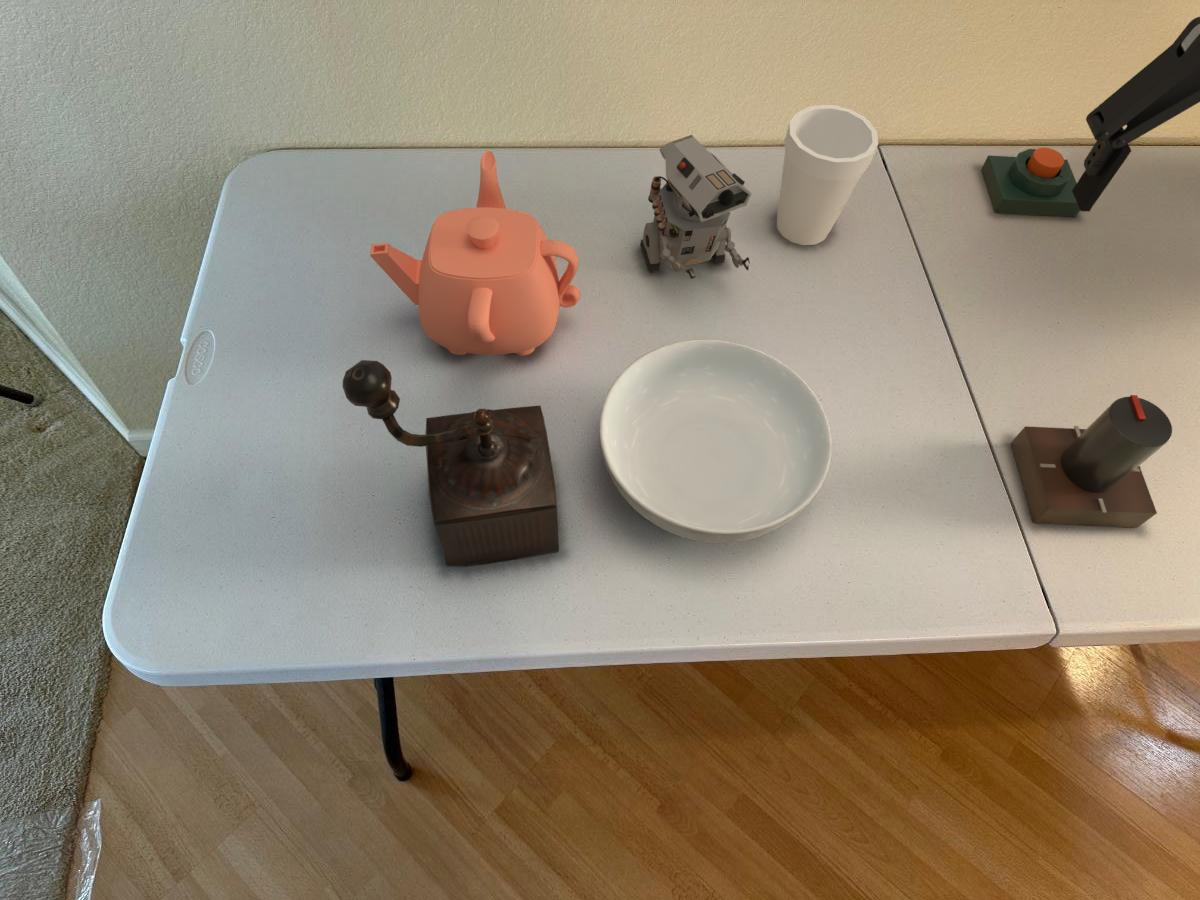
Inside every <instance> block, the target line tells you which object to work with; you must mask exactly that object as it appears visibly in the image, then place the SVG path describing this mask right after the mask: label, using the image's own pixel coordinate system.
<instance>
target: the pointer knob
mask: <svg viewBox="0 0 1200 900" xmlns="http://www.w3.org/2000/svg"><path fill="white" fill-rule="evenodd" d="M1085 429H1086V430H1085V431H1084V432H1083V433H1082V434H1081V435H1080V436H1079V437H1078V438H1077V439H1076V440H1075V441H1074V442H1073V443H1072V444H1071V445H1070V446H1069V447H1068V448H1067V449H1066V450H1065V451H1064V453H1063V455H1062V467H1063V469H1064V471H1065V473H1066V475H1067V476H1068V477H1069V478H1070V479H1071V480H1072V481H1073V482H1074V483H1075V484H1077V485H1078V486H1080V487H1082V488H1084V489H1086V490H1089V491H1093V492H1105V491H1108V490H1110V489H1112V488H1113V487H1115V486H1116V485H1117V484H1118V483H1119V482H1121V481H1122V480H1123V479H1124V478H1125V477H1127V476H1128V475H1129V474H1130V473H1131V472H1132V471H1134V470H1135V469H1136V468H1137V467H1138V466H1140V467H1141V465H1142V464H1143V463H1145V462H1146V461H1147V460H1148V459H1149V458H1151V457H1152V456H1153V455H1154V454H1155V453H1156V452H1158V451H1159V450H1160V449H1161V448H1162V447H1163V446H1165V445H1166V444H1168V443H1169V441H1170V440H1171V438H1172V436H1173V425H1172V422H1171V420H1170V419H1169V417H1168V415H1166V413H1165V411H1163V409H1161V408H1160V407H1159V406H1157V405H1156V404H1155V403H1154V402H1151V401H1149V400H1147V399H1144V398H1142V397H1139V396H1138V394H1130V395H1129V396H1123V397H1120V398H1117V399H1115V401H1113V402H1112V403H1111V404H1110V405H1109V406H1108V407H1107V408H1106V409H1105V410H1104V411H1103V412H1102V413H1101V414H1100V415H1099V416H1098V417H1097V418H1096V419H1095V420H1094V421H1093V422H1092V423H1091V424H1090V425H1089V426H1088V427H1087V428H1085Z"/></svg>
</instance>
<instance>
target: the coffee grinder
mask: <svg viewBox="0 0 1200 900" xmlns="http://www.w3.org/2000/svg"><path fill="white" fill-rule="evenodd" d="M392 379H393V377H392V374H391V371H389V369H388V368H387V367H386V366H385V364H384V363H382V362H380V361H378V360H366V359H362V360H360V361H358V362H357V363H355V364H354V365H352V366H351V367H350V368H349V369H347V370H346V371H345V373H344V376H343V378H342V389H343V393H344V395H345V398H346V399H347V401H348V402H349V403H350V404H352V405H353V406H356V407H364V408H366V410H367V414H368V415H369V416H370V417H371V418H372V419H375V420H382V421H383V424H384V426H385V428H386V430H387V431H388V433H389V434H390V435H391V436H392V438H394V439H395V440H396V441H397V442H399V443H400V444H403V445H405V446H407V447H417V448H418V447H420V448H422V447H425V455H426V467H427V470H426V471H427V491H428V498H429V504H430V509H431V514H432V515H431V516H432V520H433V525H434V529H435V532H436V535H437V538H438V540H439V543H440V546H441V547H440V548H441V549H442V553H443V557H444V562H445V566H446V567H466V568H467V567H473V566H481V565H488V564H495V563H502V562H503V563H504V562H510V561H514V560H521V559H527V558H531V557H537V556H543V555H548V554H551V553H553V554H554V553H558V552H559V551H560V542H559V541H560V540H559V519H558V503H557V491H556V482H555V476H554V468H553V464H552V457H551V449H550V444H549V436H548V432H547V426H546V422H545V416H544V413H543V411H542V406H541V405H531V406H529V405H528V406H518V407H508V408H507V407H506V408H498V409H488V408H487V409H486V408H478V409H476V410H475V411H471V412H464V413H457V414H447V415H440V416H432V417H426V418H425V419H426V420H425V433H424V434H417V433H411V432H409V431H407V430H405V429H403V428H402V426H401V425H400V424H399V422H398V421H397V419H396V416H395V413H396V411H397V410H398V409H399V406H400V402H401V398H400V396H399V395H398V394H397V392H396V391H395V390H393V389H392V381H393V380H392Z"/></svg>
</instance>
